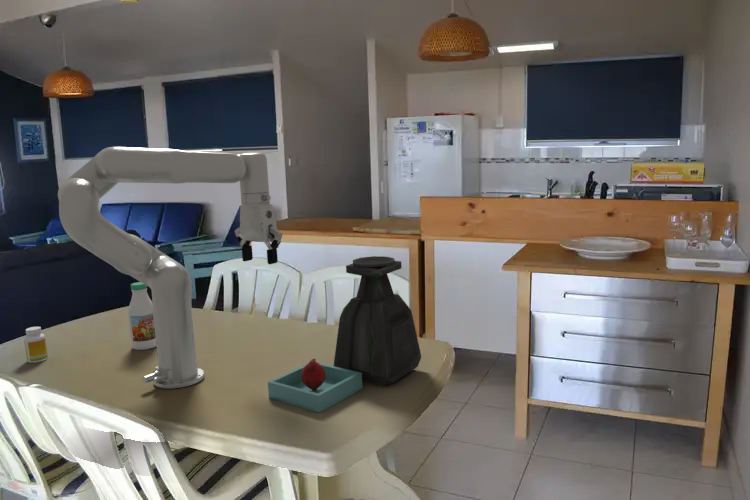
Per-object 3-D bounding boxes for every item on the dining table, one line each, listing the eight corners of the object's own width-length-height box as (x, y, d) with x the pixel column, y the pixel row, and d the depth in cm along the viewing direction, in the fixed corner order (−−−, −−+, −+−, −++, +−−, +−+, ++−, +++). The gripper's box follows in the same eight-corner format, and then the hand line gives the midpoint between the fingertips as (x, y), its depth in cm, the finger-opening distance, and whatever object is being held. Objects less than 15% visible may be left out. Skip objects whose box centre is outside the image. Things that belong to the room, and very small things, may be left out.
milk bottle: (126, 349, 189) (119, 285, 185) (144, 341, 196) (137, 279, 192) (146, 351, 186) (139, 286, 182) (164, 343, 193) (157, 281, 189)
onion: (322, 395, 146) (320, 363, 145) (298, 394, 148) (296, 362, 146) (329, 386, 152) (327, 355, 151) (306, 384, 153) (305, 354, 152)
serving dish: (319, 412, 139) (318, 395, 138) (268, 397, 148) (267, 381, 147) (362, 388, 151) (361, 372, 151) (313, 376, 161) (312, 361, 160)
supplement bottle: (52, 358, 183) (47, 326, 182) (35, 364, 179) (30, 331, 177) (39, 356, 186) (35, 324, 184) (23, 362, 181) (18, 330, 179)
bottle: (331, 377, 159) (325, 263, 154) (368, 358, 172) (363, 252, 167) (390, 391, 149) (385, 269, 144) (424, 369, 162) (421, 257, 157)
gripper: (288, 198, 163) (292, 262, 166) (243, 197, 173) (248, 257, 176) (268, 201, 157) (272, 267, 160) (222, 200, 168) (228, 261, 170)
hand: (260, 261), depth 168 cm, fingers open, 9 cm apart
